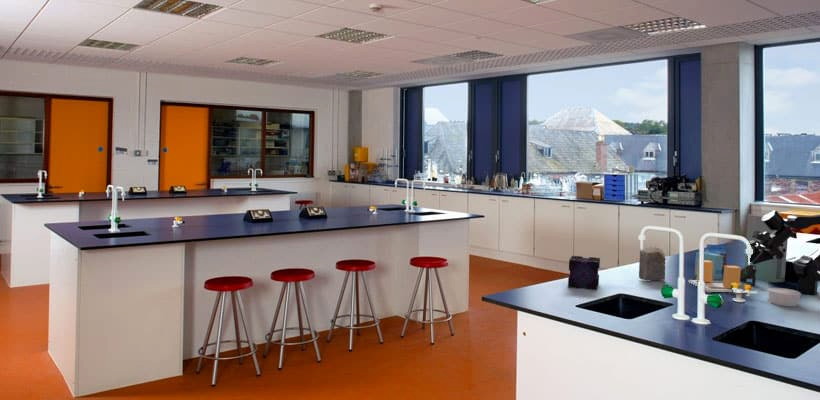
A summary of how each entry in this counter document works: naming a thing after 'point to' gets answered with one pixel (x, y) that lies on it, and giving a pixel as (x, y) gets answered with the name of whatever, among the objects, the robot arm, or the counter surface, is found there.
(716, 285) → the dip bank
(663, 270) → the geological specimen
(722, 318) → the counter surface
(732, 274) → the orange rectangular block
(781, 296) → the ramekin
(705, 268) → the tab
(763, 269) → the device
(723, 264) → the label tape box
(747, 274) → the gun
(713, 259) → the data package
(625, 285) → the counter surface
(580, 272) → the energy cube
